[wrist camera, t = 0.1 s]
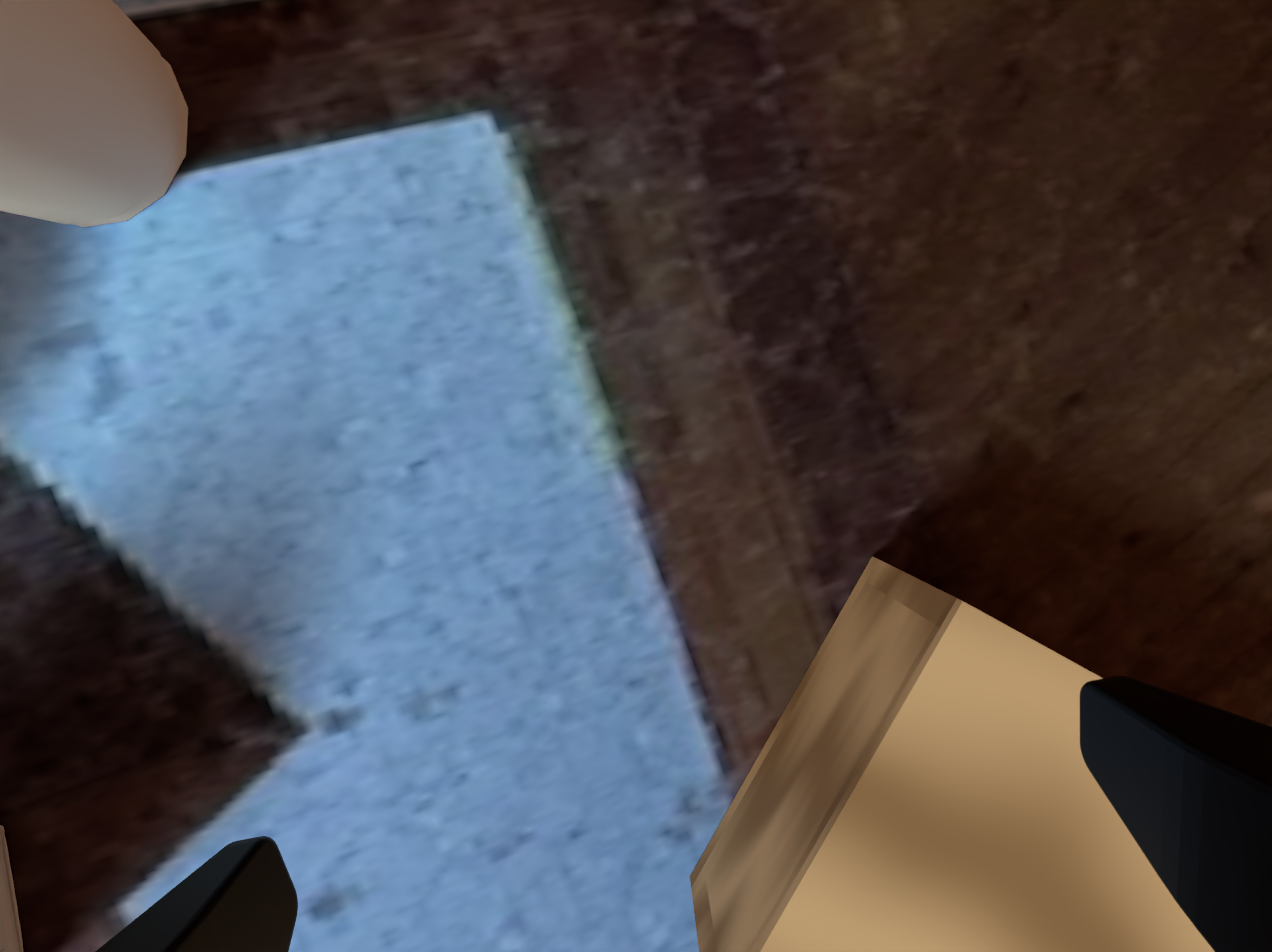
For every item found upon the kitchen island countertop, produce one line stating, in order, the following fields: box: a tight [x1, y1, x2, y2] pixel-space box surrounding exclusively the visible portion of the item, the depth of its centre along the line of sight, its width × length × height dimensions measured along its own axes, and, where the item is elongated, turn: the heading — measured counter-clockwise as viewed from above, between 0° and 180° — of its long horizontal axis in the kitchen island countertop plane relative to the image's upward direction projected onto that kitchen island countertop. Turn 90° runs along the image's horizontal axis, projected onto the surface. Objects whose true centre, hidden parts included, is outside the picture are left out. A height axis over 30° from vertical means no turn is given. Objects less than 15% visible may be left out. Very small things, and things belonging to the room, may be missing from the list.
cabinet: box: [690, 556, 1215, 952], centre depth 21 cm, size 12×12×6 cm
